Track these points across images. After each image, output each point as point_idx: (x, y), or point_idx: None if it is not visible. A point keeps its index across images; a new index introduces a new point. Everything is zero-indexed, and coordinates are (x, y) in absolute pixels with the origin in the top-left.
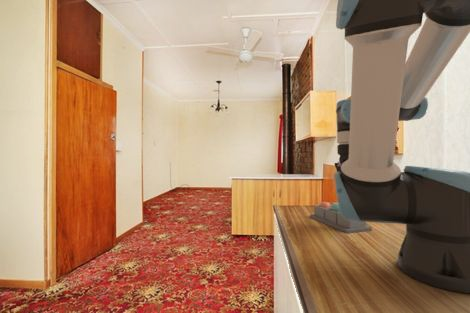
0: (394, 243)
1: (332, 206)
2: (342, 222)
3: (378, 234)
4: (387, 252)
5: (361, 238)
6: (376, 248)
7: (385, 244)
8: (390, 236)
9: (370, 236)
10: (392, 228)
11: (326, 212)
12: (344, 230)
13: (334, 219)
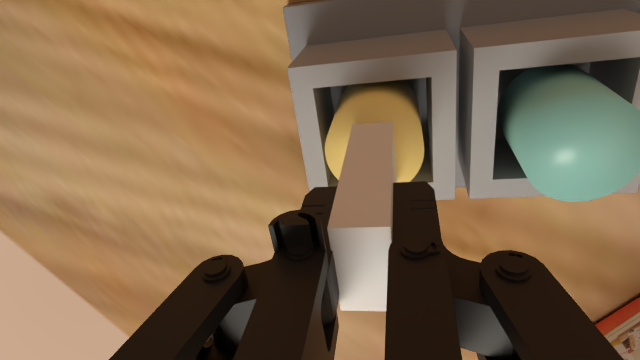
0: (126, 141)
1: (589, 87)
2: (381, 42)
3: (249, 166)
4: (11, 24)
5: (195, 32)
6: (53, 7)
7: (111, 93)
8: (216, 195)
9: (223, 105)
10: None
11: (627, 24)
12: (315, 2)
13: (485, 31)
